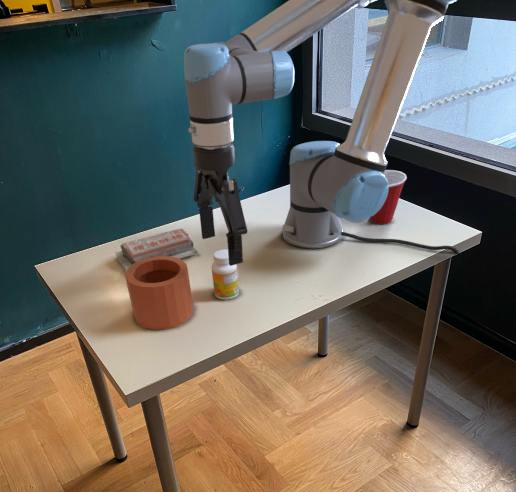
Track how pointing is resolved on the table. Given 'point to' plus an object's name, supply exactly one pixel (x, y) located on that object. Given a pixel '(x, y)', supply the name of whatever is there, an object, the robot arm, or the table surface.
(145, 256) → the packaged product
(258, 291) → the table surface
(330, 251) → the table surface
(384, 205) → the plastic cup
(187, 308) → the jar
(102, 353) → the table surface
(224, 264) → the supplement bottle
